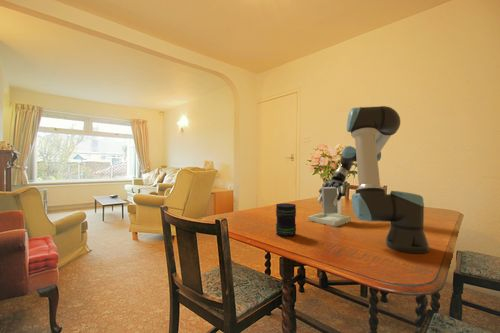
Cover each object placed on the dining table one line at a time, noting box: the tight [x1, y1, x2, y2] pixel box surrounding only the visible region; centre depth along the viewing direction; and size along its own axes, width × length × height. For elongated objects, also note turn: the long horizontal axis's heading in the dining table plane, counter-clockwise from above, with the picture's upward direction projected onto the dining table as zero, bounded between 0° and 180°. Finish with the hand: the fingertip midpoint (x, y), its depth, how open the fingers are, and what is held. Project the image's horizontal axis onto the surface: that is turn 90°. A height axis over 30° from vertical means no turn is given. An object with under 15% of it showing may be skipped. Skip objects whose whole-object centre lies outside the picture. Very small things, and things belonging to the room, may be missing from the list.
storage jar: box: [275, 202, 297, 238], centre depth 119 cm, size 10×10×15 cm
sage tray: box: [307, 212, 352, 228], centre depth 146 cm, size 18×18×3 cm
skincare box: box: [321, 186, 339, 214], centre depth 146 cm, size 8×7×16 cm
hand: (326, 203), depth 144 cm, fingers closed on skincare box, 10 cm apart
